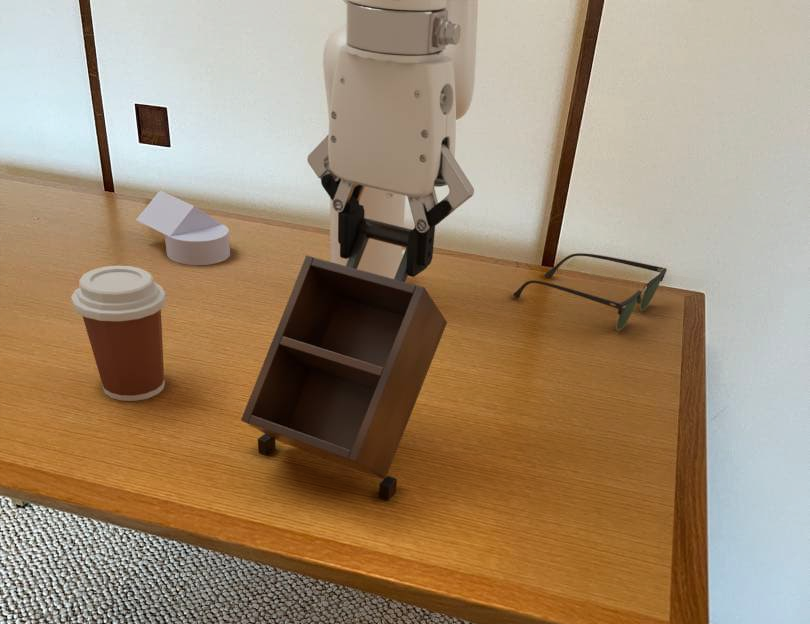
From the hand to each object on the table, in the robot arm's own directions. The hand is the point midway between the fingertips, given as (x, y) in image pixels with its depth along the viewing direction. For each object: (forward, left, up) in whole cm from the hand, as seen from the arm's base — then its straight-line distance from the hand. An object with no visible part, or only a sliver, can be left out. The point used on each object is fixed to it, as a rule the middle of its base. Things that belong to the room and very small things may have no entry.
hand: (384, 260), depth 74 cm
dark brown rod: (+9, 0, -18) cm, 20 cm away
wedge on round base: (-28, -47, -18) cm, 57 cm away
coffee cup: (+7, -26, -18) cm, 32 cm away
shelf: (+2, 0, -9) cm, 9 cm away
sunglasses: (-45, +8, -18) cm, 49 cm away
